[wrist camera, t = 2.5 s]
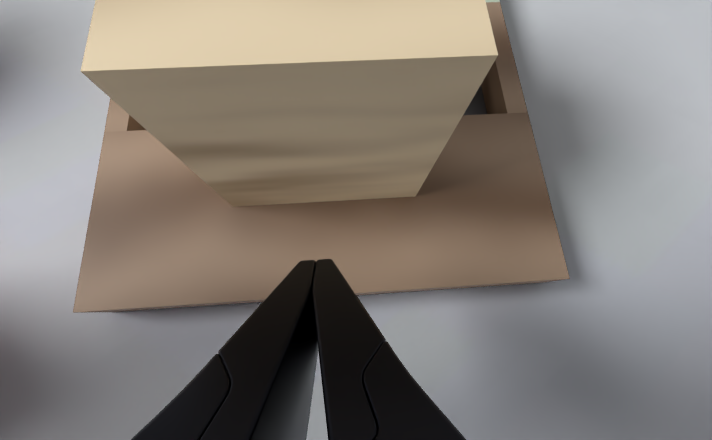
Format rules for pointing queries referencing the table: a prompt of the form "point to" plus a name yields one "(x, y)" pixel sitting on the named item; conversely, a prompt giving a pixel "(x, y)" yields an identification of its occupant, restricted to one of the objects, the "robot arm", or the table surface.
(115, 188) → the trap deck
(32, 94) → the table surface
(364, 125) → the maple block
